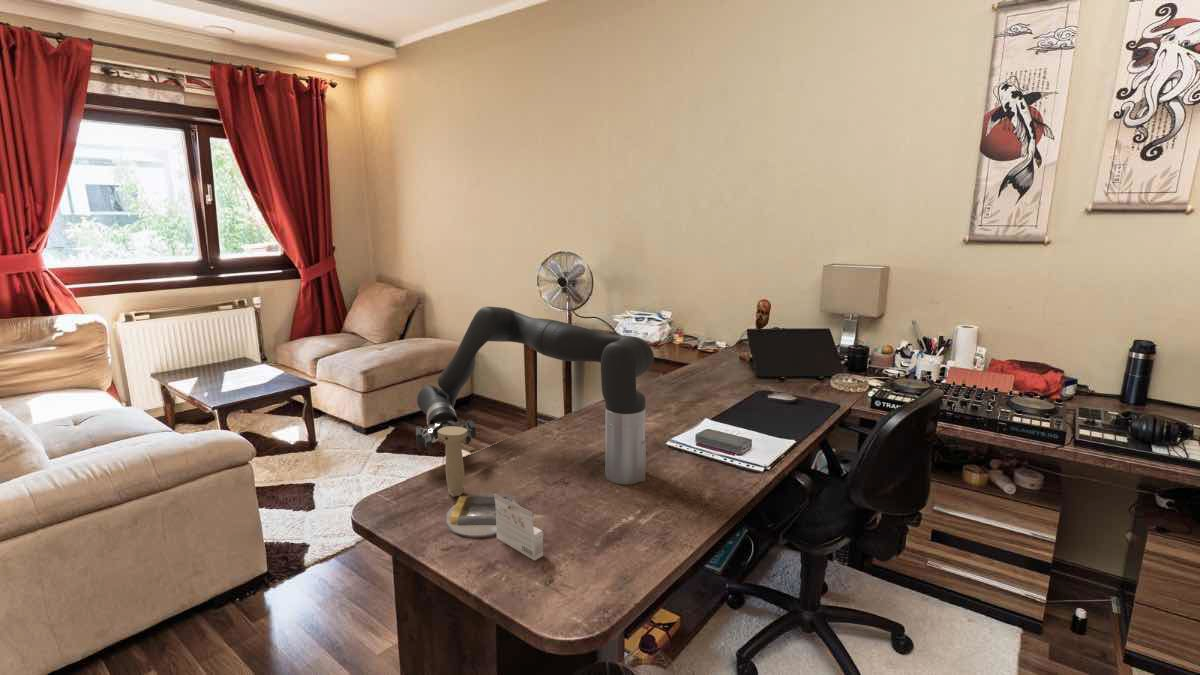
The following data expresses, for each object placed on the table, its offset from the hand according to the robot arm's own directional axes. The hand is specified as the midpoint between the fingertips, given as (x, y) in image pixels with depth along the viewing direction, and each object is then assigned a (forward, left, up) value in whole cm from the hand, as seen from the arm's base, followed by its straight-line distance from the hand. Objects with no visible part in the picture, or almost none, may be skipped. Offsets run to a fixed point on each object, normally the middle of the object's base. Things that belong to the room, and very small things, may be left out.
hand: (449, 442), depth 136 cm
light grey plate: (-11, +20, -8) cm, 24 cm away
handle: (-3, +10, -8) cm, 13 cm away
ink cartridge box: (-20, +31, -8) cm, 37 cm away
